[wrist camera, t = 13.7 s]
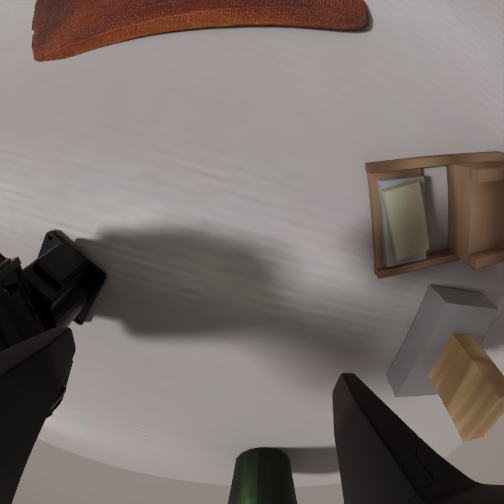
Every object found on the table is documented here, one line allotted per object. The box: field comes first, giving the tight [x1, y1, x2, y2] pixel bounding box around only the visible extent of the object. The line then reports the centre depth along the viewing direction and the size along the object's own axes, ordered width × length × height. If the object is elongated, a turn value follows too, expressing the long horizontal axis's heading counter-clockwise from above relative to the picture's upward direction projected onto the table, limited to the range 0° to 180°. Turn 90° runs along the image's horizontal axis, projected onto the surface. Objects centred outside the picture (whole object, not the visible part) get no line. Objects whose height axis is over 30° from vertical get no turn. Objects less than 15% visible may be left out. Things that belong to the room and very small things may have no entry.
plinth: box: [386, 285, 498, 397], centre depth 23 cm, size 7×10×3 cm
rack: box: [365, 151, 504, 279], centre depth 18 cm, size 13×8×4 cm, turn 102°
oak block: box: [428, 334, 504, 442], centre depth 18 cm, size 2×5×8 cm, turn 170°
